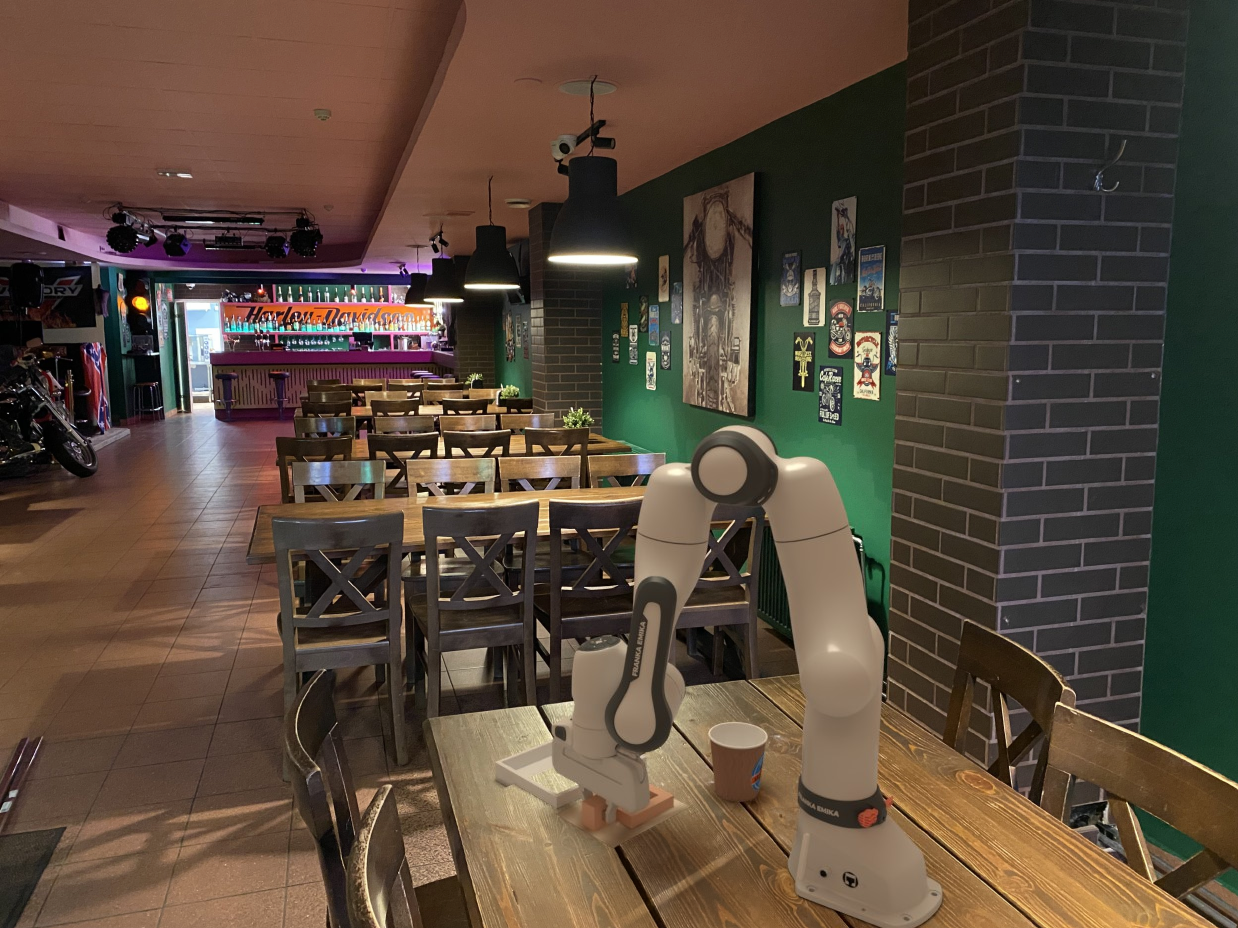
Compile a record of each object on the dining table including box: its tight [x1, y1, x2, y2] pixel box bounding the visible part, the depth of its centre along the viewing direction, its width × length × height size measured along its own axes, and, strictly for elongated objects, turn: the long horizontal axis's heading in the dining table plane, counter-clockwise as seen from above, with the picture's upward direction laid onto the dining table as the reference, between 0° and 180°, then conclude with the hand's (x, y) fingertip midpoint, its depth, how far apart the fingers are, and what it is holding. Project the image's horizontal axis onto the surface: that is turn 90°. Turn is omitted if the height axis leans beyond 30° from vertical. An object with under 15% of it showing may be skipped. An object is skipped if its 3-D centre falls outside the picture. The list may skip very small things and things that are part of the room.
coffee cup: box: [707, 721, 769, 803], centre depth 155 cm, size 10×10×12 cm
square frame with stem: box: [581, 782, 675, 831], centre depth 148 cm, size 10×15×4 cm, turn 134°
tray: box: [494, 738, 647, 809], centre depth 163 cm, size 18×22×4 cm
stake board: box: [555, 752, 691, 849], centre depth 148 cm, size 14×18×13 cm
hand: (599, 815), depth 145 cm, fingers closed on square frame with stem, 3 cm apart
